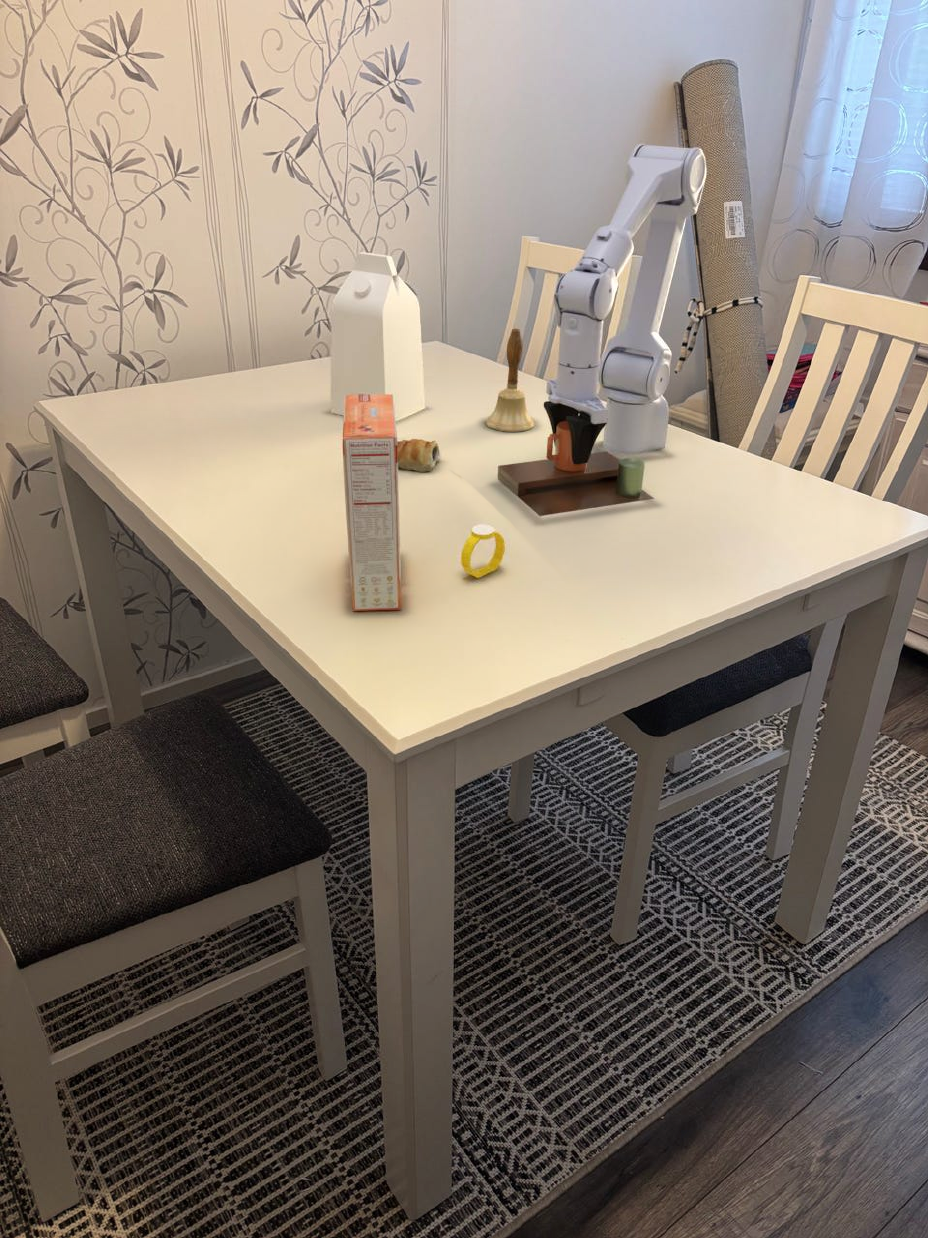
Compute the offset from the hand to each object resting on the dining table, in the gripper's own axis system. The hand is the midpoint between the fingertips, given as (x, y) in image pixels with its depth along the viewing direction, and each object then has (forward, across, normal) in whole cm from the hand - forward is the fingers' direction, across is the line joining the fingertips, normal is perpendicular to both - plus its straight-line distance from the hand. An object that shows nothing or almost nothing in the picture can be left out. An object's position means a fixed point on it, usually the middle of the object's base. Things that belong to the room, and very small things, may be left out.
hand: (571, 456), depth 140 cm
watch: (+5, +22, -23) cm, 32 cm away
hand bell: (+5, -28, +3) cm, 28 cm away
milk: (+5, -42, -16) cm, 45 cm away
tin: (+3, +8, +6) cm, 10 cm away
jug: (+1, 0, 0) cm, 1 cm away
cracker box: (+5, +20, -36) cm, 41 cm away
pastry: (+5, -16, -19) cm, 25 cm away
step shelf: (+4, +4, -1) cm, 6 cm away
